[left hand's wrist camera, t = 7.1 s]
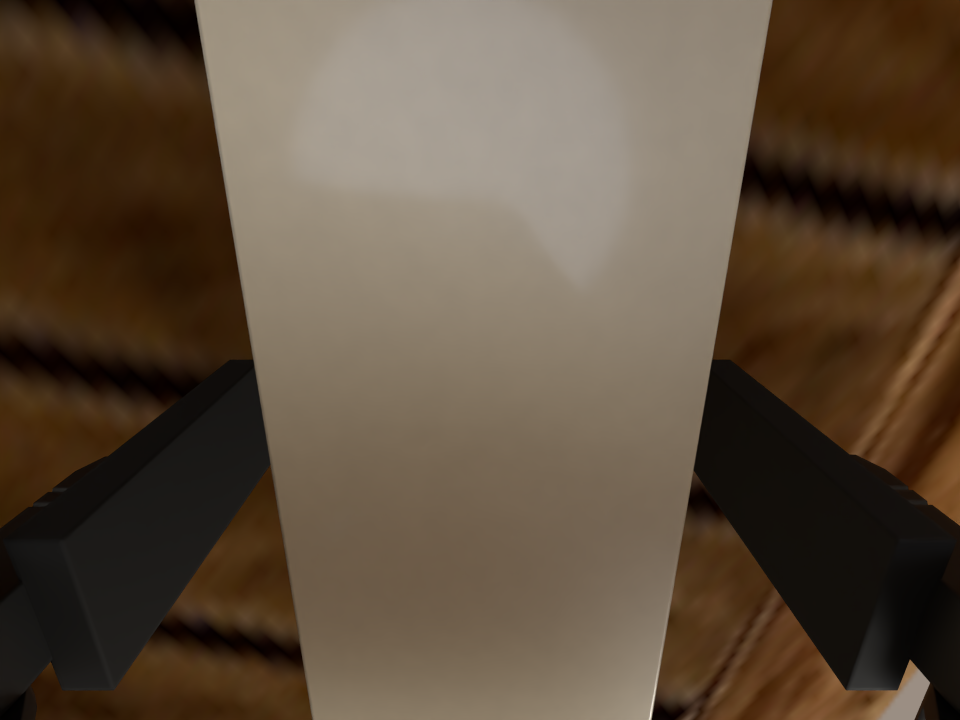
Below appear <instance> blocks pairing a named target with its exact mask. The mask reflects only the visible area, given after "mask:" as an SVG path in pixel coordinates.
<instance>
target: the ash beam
mask: <svg viewBox="0 0 960 720" xmlns="http://www.w3.org/2000/svg"><path fill="white" fill-rule="evenodd" d="M194 1H195V7H196V13H197V19H198V25H199V31H200V37H201V44H202V50H203V56H204V62H205V68H206V74H207V80H208V86H209V92H210V98H211V104H212V110H213V117H214V123H215V129H216V135H217V141H218V147H219V153H220V159H221V165H222V171H223V177H224V184H225V190H226V196H227V202H228V208H229V214H230V220H231V226H232V232H233V238H234V244H235V250H236V257H237V263H238V269H239V275H240V281H241V287H242V293H243V299H244V305H245V311H246V317H247V324H248V330H249V336H250V342H251V348H252V354H253V360H254V366H255V372H256V378H257V384H258V390H259V397H260V403H261V409H262V415H263V421H264V427H265V433H266V439H267V445H268V451H269V457H270V463H271V470H272V476H273V482H274V488H275V494H276V500H277V506H278V512H279V518H280V524H281V530H282V537H283V543H284V549H285V555H286V561H287V567H288V573H289V579H290V585H291V591H292V597H293V603H294V610H295V616H296V622H297V628H298V634H299V640H300V646H301V652H302V658H303V664H304V670H305V677H306V683H307V689H308V695H309V701H310V707H311V713H312V719H313V720H651V718H652V712H653V706H654V700H655V694H656V689H657V683H658V677H659V671H660V665H661V659H662V653H663V647H664V641H665V635H666V629H667V623H668V617H669V611H670V605H671V600H672V594H673V588H674V582H675V576H676V570H677V564H678V558H679V552H680V546H681V540H682V534H683V528H684V522H685V517H686V511H687V505H688V499H689V493H690V487H691V481H692V475H693V469H694V463H695V457H696V451H697V445H698V439H699V434H700V428H701V422H702V416H703V410H704V404H705V398H706V392H707V386H708V380H709V374H710V368H711V362H712V356H713V351H714V345H715V339H716V333H717V327H718V321H719V315H720V309H721V303H722V297H723V291H724V285H725V279H726V273H727V267H728V262H729V256H730V250H731V244H732V238H733V232H734V226H735V220H736V214H737V208H738V202H739V196H740V190H741V184H742V179H743V173H744V167H745V161H746V155H747V149H748V143H749V137H750V131H751V125H752V119H753V113H754V107H755V101H756V96H757V90H758V84H759V78H760V72H761V66H762V60H763V54H764V48H765V42H766V36H767V30H768V24H769V18H770V13H771V7H772V1H773V0H194Z"/></svg>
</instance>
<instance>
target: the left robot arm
mask: <svg viewBox="0 0 960 720" xmlns="http://www.w3.org/2000/svg"><path fill="white" fill-rule="evenodd" d="M270 464H271V463H270V457H269V451H268V445H267V439H266V433H265V427H264V421H263V415H262V409H261V403H260V397H259V390H258V384H257V378H256V372H255V366H254V360H229V361H228V362H227V363H225V364H224V365H223V366H222V367H220V368H219V369H218V370H217V371H215V372H214V373H213V374H212V375H210V376H209V377H208V378H206V379H205V380H204V381H203V382H201V383H200V384H199V385H198V386H196V387H195V388H194V389H193V390H191V391H190V392H189V393H188V394H186V395H185V396H184V397H183V398H181V399H180V400H179V401H177V402H176V403H175V404H174V405H172V406H171V407H170V408H169V409H167V410H166V411H165V412H164V413H162V414H161V415H160V416H159V417H157V418H156V419H155V420H153V421H152V422H151V423H150V424H148V425H147V426H146V427H145V428H143V429H142V430H141V431H140V432H138V433H137V434H136V435H135V436H133V437H132V438H131V439H130V440H128V441H127V442H126V443H124V444H123V445H122V446H121V447H119V448H118V449H117V450H116V451H114V452H113V453H112V454H111V455H109V456H108V457H103V458H101V459H99V460H97V461H95V462H93V463H91V464H89V465H87V466H85V467H83V468H81V469H79V470H77V471H75V472H74V473H72V474H71V475H70V476H69V477H67V478H66V479H65V480H63V481H62V482H61V483H59V484H58V485H57V486H55V487H54V488H53V491H52V492H48V493H46V494H45V495H44V496H42V497H41V498H40V499H38V500H37V501H36V502H35V503H33V504H34V505H33V507H28V508H27V509H25V510H24V511H23V512H21V513H20V514H19V515H18V516H16V517H15V518H14V519H12V520H11V521H10V522H8V523H7V524H6V525H4V526H3V527H2V528H1V529H0V720H35V716H36V710H37V704H36V698H35V694H34V692H33V689H32V687H31V684H32V682H33V681H34V680H35V679H36V678H37V677H38V676H39V674H40V673H41V672H42V671H43V670H44V669H45V667H46V666H47V665H48V664H49V663H50V662H51V663H52V665H53V668H54V670H55V673H56V675H57V678H58V680H59V683H60V685H61V688H62V690H114V689H115V688H116V686H117V685H118V684H119V682H120V681H121V679H122V678H123V676H124V675H125V673H126V672H127V671H128V669H129V668H130V666H131V665H132V663H133V662H134V660H135V659H136V658H137V656H138V655H139V653H140V652H141V650H142V649H143V647H144V646H145V645H146V643H147V642H148V640H149V639H150V637H151V636H152V634H153V633H154V632H155V630H156V629H157V627H158V626H159V624H160V623H161V621H162V620H163V619H164V617H165V616H166V614H167V613H168V611H169V610H170V608H171V607H172V606H173V604H174V603H175V601H176V600H177V598H178V597H179V595H180V594H181V593H182V591H183V590H184V588H185V587H186V585H187V584H188V582H189V581H190V580H191V578H192V577H193V575H194V574H195V572H196V571H197V569H198V568H199V567H200V565H201V564H202V562H203V561H204V559H205V558H206V557H207V555H208V554H209V552H210V551H211V549H212V548H213V546H214V545H215V544H216V542H217V541H218V539H219V538H220V536H221V535H222V533H223V532H224V531H225V529H226V528H227V526H228V525H229V523H230V522H231V520H232V519H233V518H234V516H235V515H236V513H237V512H238V510H239V509H240V507H241V506H242V505H243V503H244V502H245V500H246V499H247V497H248V496H249V494H250V493H251V492H252V490H253V489H254V487H255V486H256V484H257V483H258V481H259V480H260V479H261V477H262V476H263V474H264V473H265V471H266V470H267V468H268V467H269V466H270ZM693 470H694V471H695V473H696V474H697V476H698V477H699V479H700V480H701V481H702V483H703V484H704V486H705V487H706V489H707V490H708V492H709V493H710V494H711V496H712V497H713V499H714V500H715V502H716V503H717V505H718V506H719V507H720V509H721V510H722V512H723V513H724V515H725V516H726V518H727V519H728V520H729V522H730V523H731V525H732V526H733V528H734V529H735V531H736V532H737V533H738V535H739V536H740V538H741V539H742V541H743V542H744V544H745V545H746V546H747V548H748V549H749V551H750V552H751V554H752V555H753V557H754V558H755V559H756V561H757V562H758V564H759V565H760V567H761V568H762V570H763V571H764V572H765V574H766V575H767V577H768V578H769V580H770V581H771V583H772V584H773V585H774V587H775V588H776V590H777V591H778V593H779V594H780V595H781V597H782V598H783V600H784V601H785V603H786V604H787V606H788V607H789V608H790V610H791V611H792V613H793V614H794V616H795V617H796V619H797V620H798V621H799V623H800V624H801V626H802V627H803V629H804V630H805V632H806V633H807V634H808V636H809V637H810V639H811V640H812V642H813V643H814V645H815V646H816V647H817V649H818V650H819V652H820V653H821V655H822V656H823V658H824V659H825V660H826V662H827V663H828V665H829V666H830V668H831V669H832V671H833V672H834V673H835V675H836V676H837V678H838V679H839V681H840V682H841V684H842V685H843V686H844V688H845V689H846V690H898V688H899V685H900V683H901V680H902V678H903V675H904V673H905V670H906V668H907V665H908V663H909V660H911V661H912V662H913V663H914V664H915V665H916V667H917V668H918V669H919V670H920V671H921V672H922V674H923V675H924V676H925V677H926V678H927V679H928V680H929V682H930V685H929V687H928V689H927V692H926V694H925V696H924V699H923V701H922V703H921V706H920V708H919V711H918V713H917V715H916V718H915V720H960V526H959V525H958V524H957V523H955V522H954V521H953V520H951V519H950V518H949V517H947V516H946V515H945V514H943V513H942V512H941V511H939V510H938V509H937V508H936V507H934V506H933V505H928V504H927V501H926V500H925V499H924V498H922V497H921V496H920V495H918V494H917V493H916V492H914V491H913V490H908V486H907V485H905V484H904V483H903V482H901V481H900V480H899V479H897V478H896V477H895V476H893V475H892V474H891V473H889V472H888V471H887V470H885V469H883V468H881V467H879V466H877V465H875V464H873V463H871V462H869V461H867V460H865V459H863V458H861V457H859V456H857V455H849V454H848V453H847V452H846V451H844V450H843V449H842V448H841V447H839V446H838V445H837V444H836V443H834V442H833V441H832V440H830V439H829V438H828V437H827V436H825V435H824V434H823V433H822V432H820V431H819V430H818V429H817V428H815V427H814V426H813V425H812V424H810V423H809V422H808V421H806V420H805V419H804V418H803V417H801V416H800V415H799V414H798V413H796V412H795V411H794V410H793V409H791V408H790V407H789V406H788V405H786V404H785V403H784V402H783V401H781V400H780V399H779V398H777V397H776V396H775V395H774V394H772V393H771V392H770V391H769V390H767V389H766V388H765V387H764V386H762V385H761V384H760V383H759V382H757V381H756V380H755V379H753V378H752V377H751V376H750V375H748V374H747V373H746V372H745V371H743V370H742V369H741V368H740V367H738V366H737V365H736V364H735V363H733V362H732V361H731V360H712V362H711V368H710V374H709V380H708V386H707V392H706V398H705V404H704V410H703V416H702V422H701V428H700V434H699V439H698V445H697V451H696V457H695V463H694V469H693Z"/></svg>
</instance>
